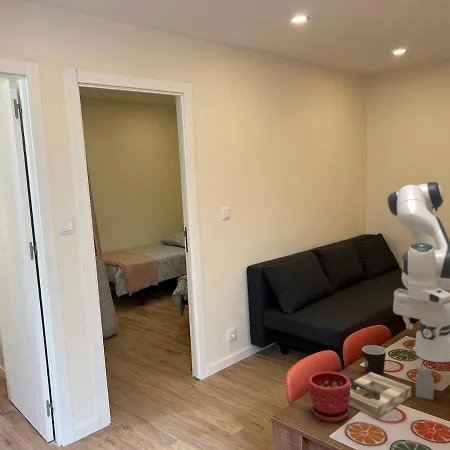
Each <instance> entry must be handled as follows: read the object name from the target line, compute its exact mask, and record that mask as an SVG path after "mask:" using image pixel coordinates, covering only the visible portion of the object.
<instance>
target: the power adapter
mask: <svg viewBox="0 0 450 450" xmlns="http://www.w3.org/2000/svg"><path fill="white" fill-rule="evenodd" d="M420 365H421V366H420V367H418V368H417V373H416V375H415V397H417V398H419V399H420V398H421V399H426V400H430V401H431V400H432V401H433V400H434V393H435V392H434V390H435V389H434V381H435V379H434V376H433V374H432V372H433V371H432V370H431V369H429V363H426V368H424V367H423V362H421V363H420Z"/></svg>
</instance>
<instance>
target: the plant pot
mask: <svg viewBox="0 0 450 450" xmlns="http://www.w3.org/2000/svg"><path fill="white" fill-rule="evenodd" d="M326 381H328V382H327V383H326ZM333 383H336V384H337V387H335V386H334V385H333ZM341 383H342V384H341ZM308 388H309V395H310V399H311V402H312V404H313V406H312V412H313V414H314V415H315V416H316V417H317V418H318V419H320V420H323V421H326V422H340V421H342V420H343V419H346V418H347V417H348V415H349V413H350V409H349V407H348V406H349V405H348V403H349V399H350V378H349V377H348V376H346V375H344V374H343V373H339V372H335V371H334V372H333V371H322V372H321V371H320V372H316V373H313V375H310V377H309V379H308Z"/></svg>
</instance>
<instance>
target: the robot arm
mask: <svg viewBox="0 0 450 450" xmlns="http://www.w3.org/2000/svg"><path fill="white" fill-rule="evenodd" d="M444 198H445V191H444V190H443V188H442V186H440V184H439V183H438V182H435V181H429V182H427V183H422V184H408V185H407V184H406V185H404V186H402V187H401V188H400V189H399V190H398V191H393V192H392V193H390V194H389V195H388V197H387V202H386V203H387V208H388V210H389V211H390V213H391V214H392V215H393V216H395V217H397V219H398V222H399V224H400V225H401V226H402V227H403V228H404V229H407V230H408V231H410V234H411V235H410V236H411V240H412V244H411V245H410V246H409V249H408V250H407V251H406V252H404V253H403V254H402V255H401V261H402V264H401V272H402V273H401V282H402V284H403V286H404V287H405V288H406V289H405V288H400V287H399V288H397V289H395V290H394V292H393V303H392V304H393V305H392V311H393V313H394V314H395V315H398V316H402V319H403V322H404V323H405V328H406V329H407V330H413V328H414V323H411V321H410V318H412V319H416V320H418V331H416V334H415V345H414V346H412V350H413V351H414V352H415V355H416V356H417V357H418V358H420V359H422V360H425V361H427V362H434V363H450V292H448V291H447V290H450V239H449V237H448V234H447V231H446V230H445V227H444V225H443V223H442V222H441V219H440V218H439V217H438V216H436V215H435V213H434V211H435V212H438V209H439V208H440V207H441V206H442V204H443V203H444ZM433 210H434V211H433Z"/></svg>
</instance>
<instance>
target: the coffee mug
mask: <svg viewBox="0 0 450 450" xmlns="http://www.w3.org/2000/svg"><path fill="white" fill-rule="evenodd" d="M361 351H362V355H363V364H364V370H365V375H366V374H368V373H370V372H372V373H374V374H377V375H380V376H383V377H384V372H385V364H386V353H387V350H386V348H385V347H382V346H379V345H366V346H363V347H362V349H361Z"/></svg>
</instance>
